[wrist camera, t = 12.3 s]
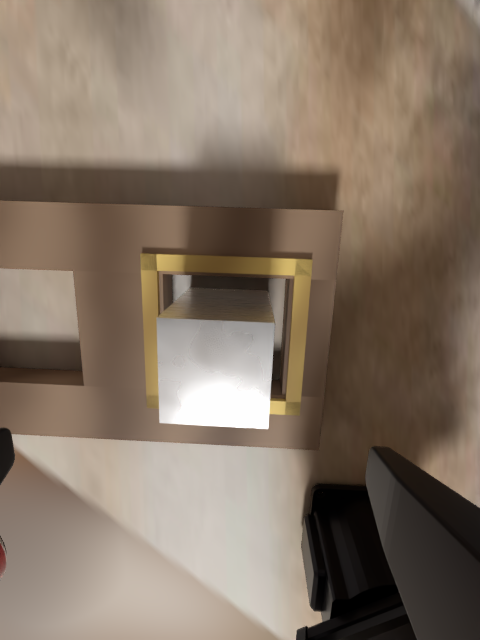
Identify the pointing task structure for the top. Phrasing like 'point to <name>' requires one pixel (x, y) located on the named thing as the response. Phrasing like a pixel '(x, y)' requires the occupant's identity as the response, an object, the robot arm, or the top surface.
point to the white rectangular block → (216, 358)
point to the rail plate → (154, 298)
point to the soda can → (2, 558)
